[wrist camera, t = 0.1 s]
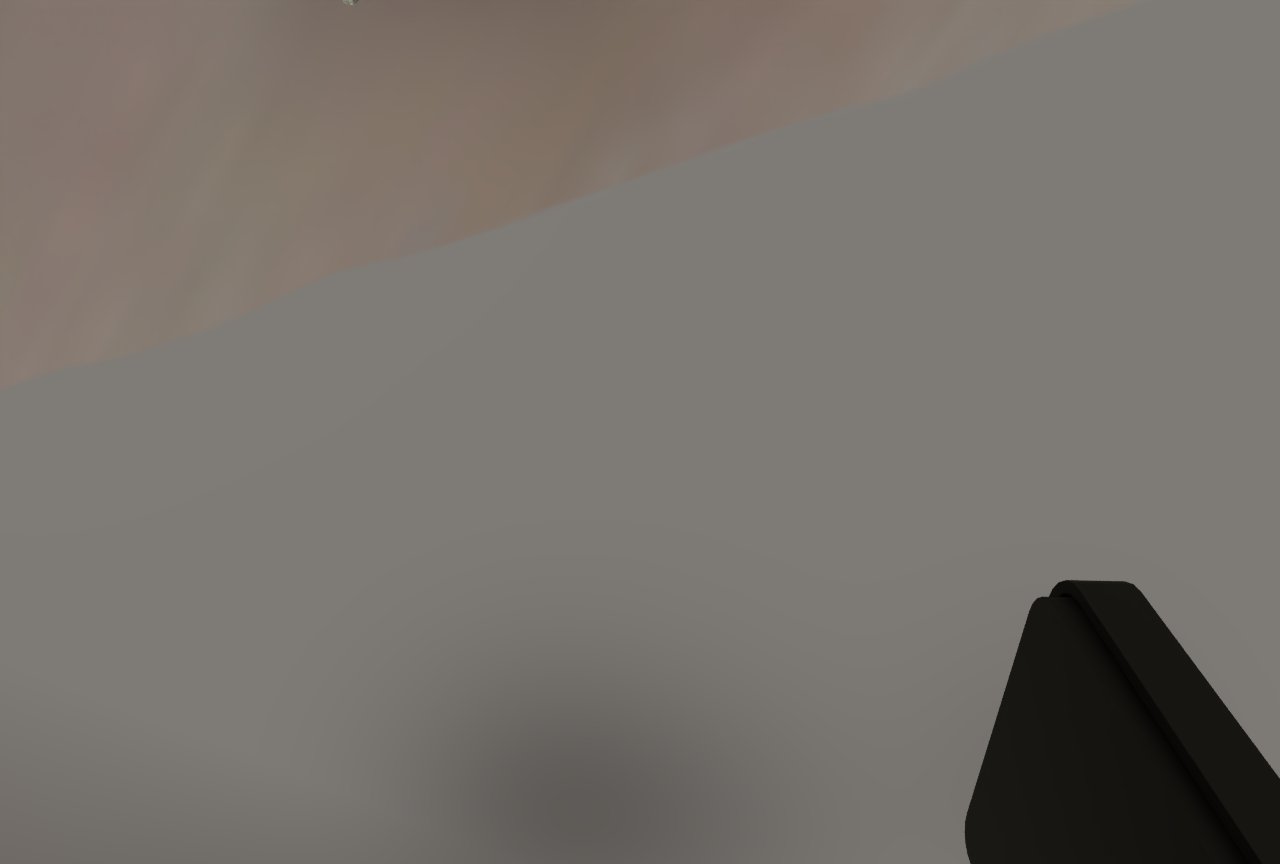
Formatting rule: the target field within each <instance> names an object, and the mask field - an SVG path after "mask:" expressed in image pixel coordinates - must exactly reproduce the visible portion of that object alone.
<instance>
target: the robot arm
mask: <svg viewBox="0 0 1280 864" xmlns="http://www.w3.org/2000/svg"><path fill="white" fill-rule="evenodd" d="M965 843H966V848H967V854H968V857H969V860H970V863H971V864H1280V778H1279V777H1278V776H1277V774H1276V773H1275V772H1274V770H1273V769H1272V768H1271V766H1270V765H1269V764H1268V762H1267V761H1266V760H1265V759H1264V757H1263V756H1262V754H1261V753H1260V752H1259V750H1258V749H1257V747H1256V746H1255V745H1254V743H1253V742H1252V741H1251V739H1250V738H1249V737H1248V735H1247V734H1246V733H1245V731H1244V730H1243V729H1242V727H1241V726H1240V725H1239V723H1238V722H1237V720H1236V719H1235V718H1234V716H1233V715H1232V714H1231V712H1230V711H1229V710H1228V708H1227V707H1226V706H1225V704H1224V703H1223V702H1222V700H1221V699H1220V698H1219V696H1218V695H1217V694H1216V692H1215V691H1214V689H1213V688H1212V687H1211V685H1210V684H1209V683H1208V681H1207V680H1206V679H1205V677H1204V676H1203V675H1202V673H1201V672H1200V671H1199V669H1198V668H1197V667H1196V665H1195V664H1194V663H1193V661H1192V660H1191V658H1190V657H1189V656H1188V654H1187V653H1186V652H1185V651H1184V649H1183V648H1182V646H1181V645H1180V644H1179V643H1178V641H1177V640H1176V638H1175V637H1174V636H1173V635H1172V633H1171V632H1170V630H1169V629H1168V627H1167V626H1166V625H1165V623H1164V622H1163V621H1162V619H1161V618H1160V617H1159V615H1158V614H1157V613H1156V611H1155V610H1154V609H1153V607H1152V606H1151V605H1150V603H1149V602H1148V601H1147V599H1146V598H1145V596H1144V595H1143V594H1142V592H1141V591H1140V590H1139V589H1138V588H1137V587H1135V585H1134V584H1131V583H1128V582H1123V581H1078V580H1076V581H1075V580H1065V581H1062V582H1059V583H1058V584H1057V585H1056V586H1055V587H1054V588H1053V589H1052V591H1051V594H1050V596H1049V597H1040V598H1037V599H1036V600H1035V601H1034V603H1033V604H1032V606H1031V609H1030V611H1029V614H1028V617H1027V621H1026V624H1025V627H1024V630H1023V633H1022V637H1021V640H1020V643H1019V646H1018V650H1017V653H1016V656H1015V660H1014V663H1013V666H1012V669H1011V672H1010V676H1009V679H1008V682H1007V685H1006V689H1005V692H1004V695H1003V698H1002V702H1001V705H1000V708H999V712H998V715H997V718H996V721H995V725H994V728H993V731H992V734H991V737H990V741H989V744H988V747H987V750H986V754H985V757H984V760H983V763H982V766H981V770H980V773H979V776H978V779H977V783H976V786H975V789H974V793H973V796H972V799H971V802H970V805H969V809H968V812H967V816H966V821H965Z"/></svg>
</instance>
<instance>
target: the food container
mask: <svg viewBox="0 0 1280 864" xmlns="http://www.w3.org/2000/svg"><path fill="white" fill-rule="evenodd" d="M357 1H359V0H343V2H344V5H345V4H348V3H350V5H353V4H355V3H356V2H357Z"/></svg>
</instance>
